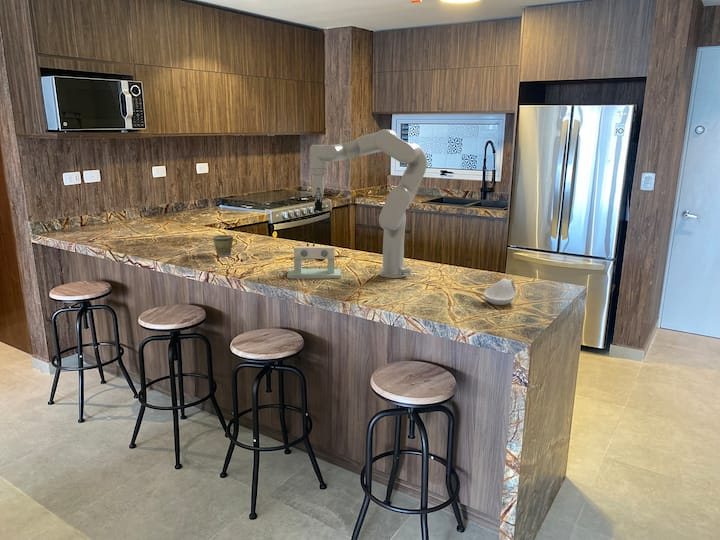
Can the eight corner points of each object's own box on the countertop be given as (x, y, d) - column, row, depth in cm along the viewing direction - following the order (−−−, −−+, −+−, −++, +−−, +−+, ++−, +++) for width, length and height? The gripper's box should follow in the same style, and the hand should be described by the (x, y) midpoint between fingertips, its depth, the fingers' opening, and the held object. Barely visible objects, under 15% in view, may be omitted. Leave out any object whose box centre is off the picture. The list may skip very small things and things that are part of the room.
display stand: (340, 271, 256) (340, 252, 254) (341, 278, 244) (341, 258, 242) (289, 271, 255) (288, 252, 252) (287, 278, 243) (286, 258, 241)
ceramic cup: (210, 256, 282) (209, 237, 279) (220, 252, 291) (219, 234, 288) (232, 258, 278) (231, 239, 275) (242, 254, 287) (241, 236, 285)
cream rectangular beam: (334, 257, 249) (334, 246, 248) (334, 259, 246) (334, 248, 245) (294, 257, 248) (294, 246, 247) (294, 258, 245) (293, 248, 244)
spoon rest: (510, 310, 205) (511, 291, 204) (479, 305, 211) (480, 287, 209) (522, 294, 226) (524, 277, 224) (494, 290, 231) (495, 273, 229)
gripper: (311, 170, 259) (311, 206, 263) (309, 173, 242) (309, 212, 246) (326, 170, 259) (326, 206, 263) (326, 173, 242) (326, 212, 247)
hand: (318, 209), depth 255 cm, fingers open, 9 cm apart
